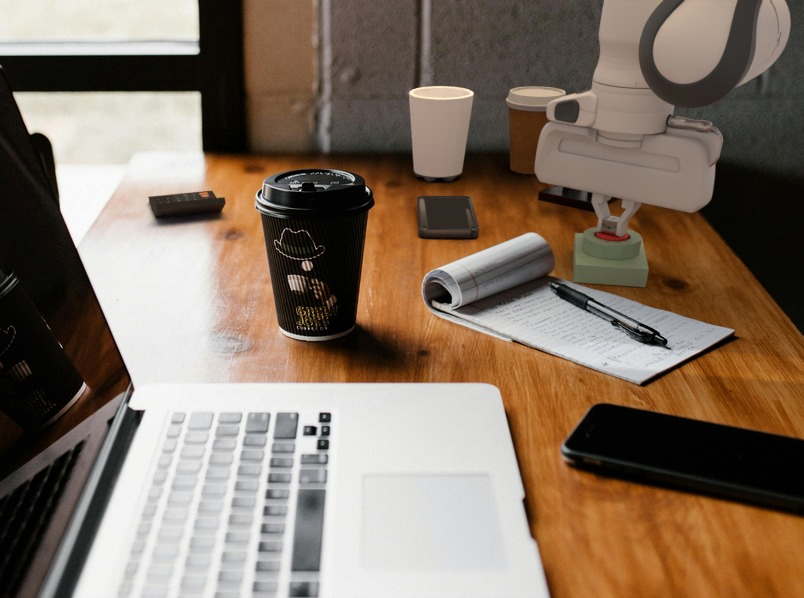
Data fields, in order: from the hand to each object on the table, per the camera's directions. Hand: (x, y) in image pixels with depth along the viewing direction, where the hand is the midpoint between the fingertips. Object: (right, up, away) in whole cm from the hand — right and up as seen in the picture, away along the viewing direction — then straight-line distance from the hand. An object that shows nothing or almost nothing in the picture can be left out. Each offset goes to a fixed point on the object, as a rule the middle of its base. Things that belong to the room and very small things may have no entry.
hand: (611, 233), depth 100 cm
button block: (0, -4, +2) cm, 4 cm away
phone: (-17, +6, +18) cm, 25 cm away
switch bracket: (+4, +11, +27) cm, 29 cm away
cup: (-17, +17, +37) cm, 44 cm away
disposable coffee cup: (-1, +19, +40) cm, 44 cm away
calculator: (-54, +8, +23) cm, 59 cm away
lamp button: (0, -1, +1) cm, 2 cm away
